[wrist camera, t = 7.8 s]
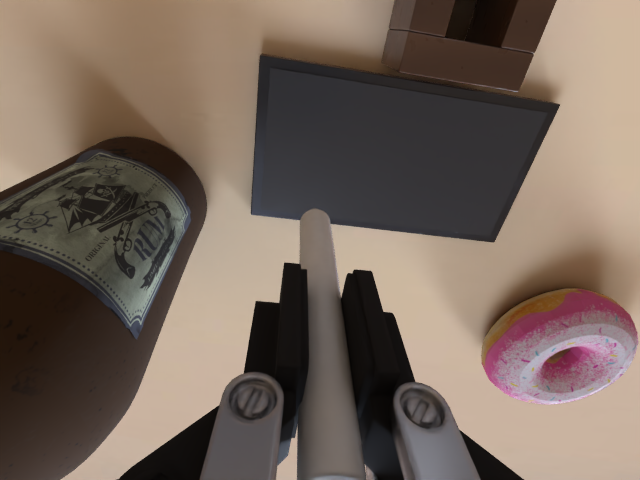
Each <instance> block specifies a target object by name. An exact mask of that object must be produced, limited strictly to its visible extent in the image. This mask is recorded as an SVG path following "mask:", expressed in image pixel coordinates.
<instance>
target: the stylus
mask: <svg viewBox="0 0 640 480" xmlns="http://www.w3.org/2000/svg"><path fill="white" fill-rule="evenodd" d="M300 264H301V269H307V282H308V330H309V367H308V375H307V380H306V385H305V390H304V395H303V400H302V402H301V403H300V405H299V407H298V443H297V480H367V479H366V472H365V465H364V458H363V450H362V443H361V436H360V429H359V422H358V415H357V408H356V403H355V396H354V389H353V381H352V374H351V367H350V360H349V353H348V346H347V339H346V331H345V324H344V317H343V310H342V303H341V295H340V287H339V280H338V273H337V266H336V259H335V252H334V245H333V238H332V231H331V224H330V218H329V216H328V215H327V214H326V213H325V212H324V211H322V210H319V209H317V208H312V209H310V210H309V211H307V212H305V213H304V214H303V215H302V217H301V220H300Z"/></svg>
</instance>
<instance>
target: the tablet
mask: <svg viewBox="0 0 640 480" xmlns="http://www.w3.org/2000/svg"><path fill="white" fill-rule="evenodd" d="M559 106H560V104H557V103H554V102H549V101H543V100H537V99H531V98H525V97H519V96H513V95H507V94H501V93H495V92H489V91H483V90H477V89H471V88H465V87H459V86H453V85H446V84H440V83H434V82H428V81H422V80H416V79H410V78H404V77H398V76H392V75H386V74H380V73H374V72H368V71H362V70H356V69H350V68H344V67H338V66H332V65H326V64H320V63H314V62H308V61H302V60H296V59H290V58H284V57H278V56H272V55H266V54H261V55H260V62H259V79H258V97H257V114H256V132H255V149H254V167H253V184H252V202H251V215H259V216H268V217H277V218H285V219H294V220H301V217H302V215H303V214H304V213H305V212H307V211H309V210H310V209H312V208H317V209H319V210H322V211H324V212H325V213H326V214H327V215H328V216H329V218H330V224H338V225H346V226H355V227H364V228H372V229H381V230H390V231H399V232H407V233H416V234H425V235H433V236H442V237H451V238H459V239H468V240H477V241H486V242H495V240H496V238H497V236H498V234H499V231H500V229H501V227H502V225H503V223H504V221H505V219H506V217H507V215H508V213H509V211H510V209H511V206H512V204H513V202H514V200H515V198H516V196H517V194H518V192H519V190H520V188H521V186H522V183H523V181H524V179H525V177H526V175H527V173H528V171H529V169H530V167H531V165H532V163H533V161H534V158H535V156H536V154H537V152H538V150H539V148H540V146H541V144H542V142H543V140H544V138H545V136H546V133H547V131H548V129H549V127H550V125H551V123H552V121H553V119H554V117H555V115H556V113H557V110H558V108H559Z"/></svg>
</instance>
